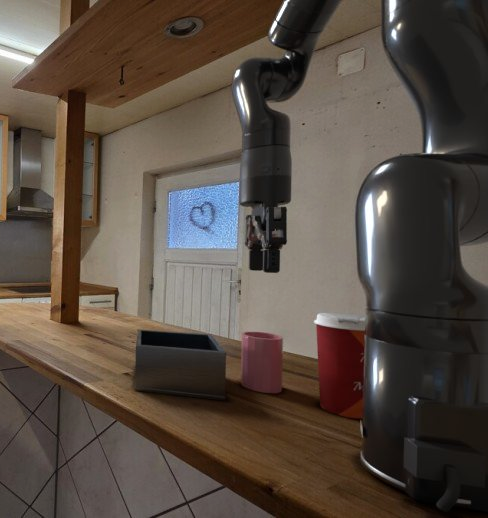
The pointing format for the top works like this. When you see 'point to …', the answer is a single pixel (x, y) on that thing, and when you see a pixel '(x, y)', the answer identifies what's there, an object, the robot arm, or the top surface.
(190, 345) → the grey storage bin
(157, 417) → the top surface
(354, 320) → the paper cup
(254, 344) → the pink cup
